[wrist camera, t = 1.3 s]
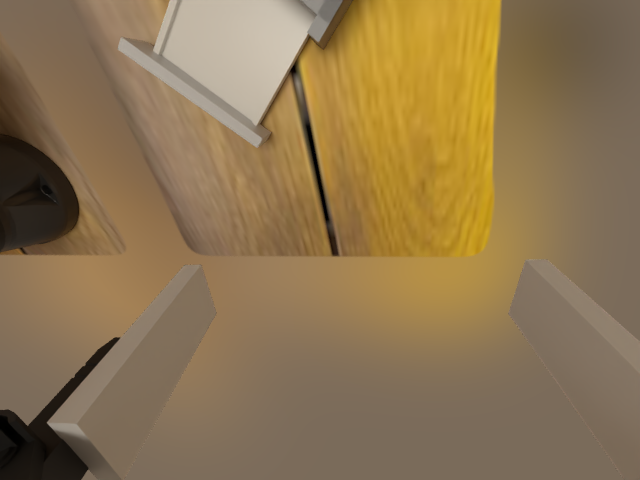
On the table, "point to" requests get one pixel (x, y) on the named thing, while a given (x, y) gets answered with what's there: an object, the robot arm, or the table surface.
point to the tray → (227, 56)
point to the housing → (325, 18)
